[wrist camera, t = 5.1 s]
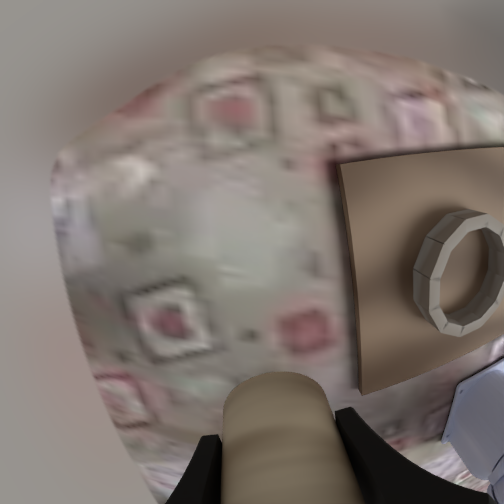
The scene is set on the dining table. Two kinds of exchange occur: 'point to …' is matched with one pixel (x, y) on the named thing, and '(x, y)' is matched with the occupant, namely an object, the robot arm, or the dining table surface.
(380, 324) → the socket board
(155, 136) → the dining table surface
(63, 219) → the dining table surface
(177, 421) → the dining table surface
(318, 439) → the maple peg
